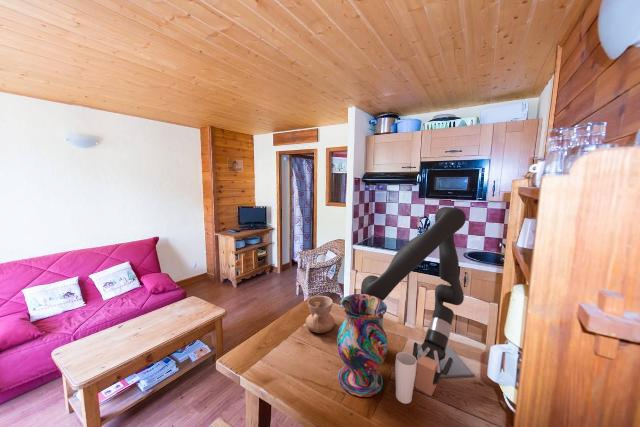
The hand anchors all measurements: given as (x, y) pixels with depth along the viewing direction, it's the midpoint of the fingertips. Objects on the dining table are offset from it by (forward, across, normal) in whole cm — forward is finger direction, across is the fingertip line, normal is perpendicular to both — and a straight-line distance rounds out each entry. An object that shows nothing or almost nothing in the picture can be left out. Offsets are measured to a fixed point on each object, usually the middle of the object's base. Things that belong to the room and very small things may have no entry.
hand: (425, 379), depth 90 cm
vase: (+11, -20, -5) cm, 23 cm away
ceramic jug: (+1, -52, +5) cm, 53 cm away
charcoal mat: (-11, +1, +17) cm, 20 cm away
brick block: (+2, 0, +4) cm, 5 cm away
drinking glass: (+9, -4, -3) cm, 10 cm away
